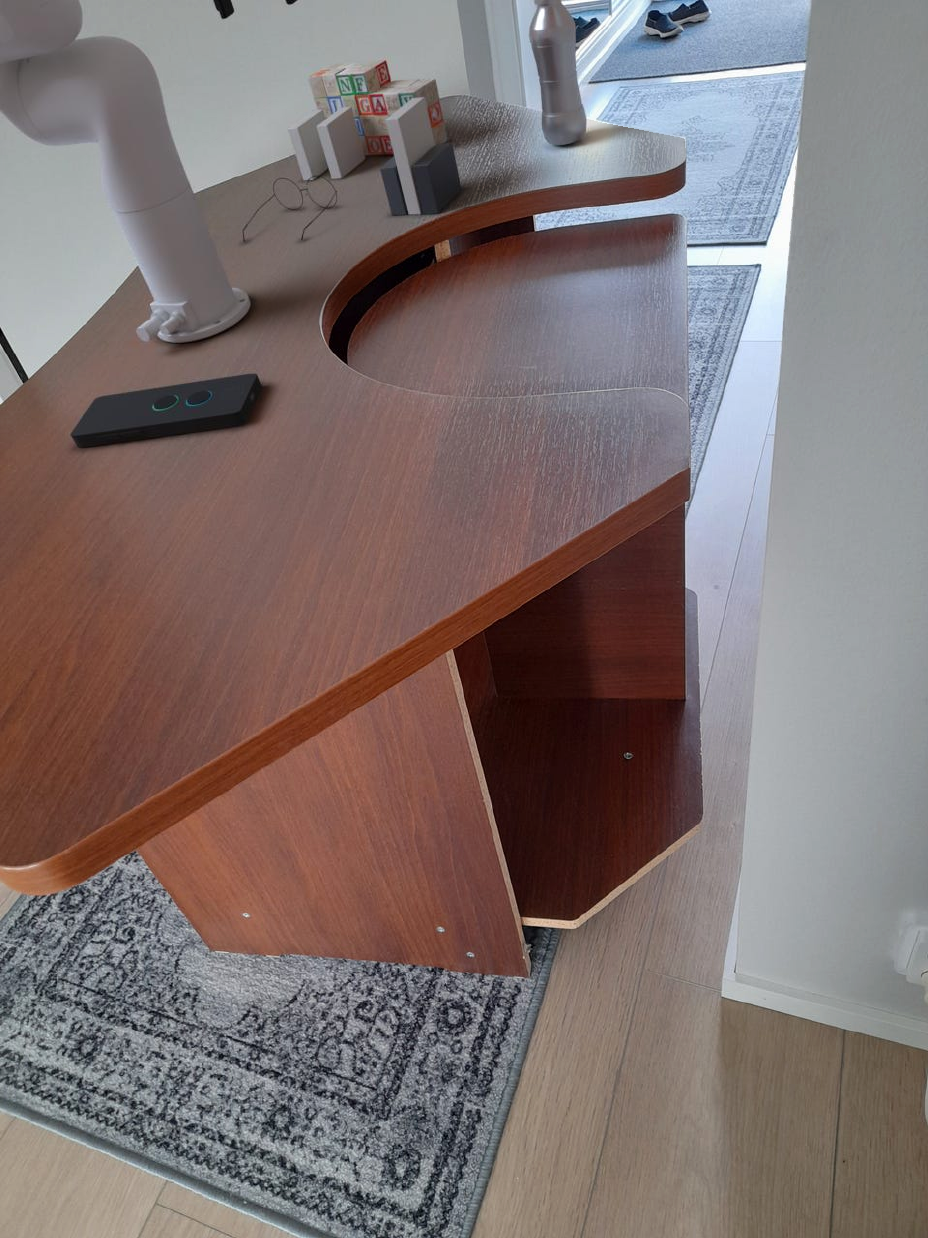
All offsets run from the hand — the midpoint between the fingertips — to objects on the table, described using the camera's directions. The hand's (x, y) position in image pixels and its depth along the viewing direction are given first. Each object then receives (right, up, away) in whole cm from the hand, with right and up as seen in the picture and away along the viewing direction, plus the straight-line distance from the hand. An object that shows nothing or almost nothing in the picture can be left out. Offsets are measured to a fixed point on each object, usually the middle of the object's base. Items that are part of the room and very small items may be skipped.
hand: (260, 8), depth 120 cm
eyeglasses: (+2, -22, +15) cm, 27 cm away
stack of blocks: (+14, -2, +31) cm, 35 cm away
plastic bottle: (+42, -10, +15) cm, 46 cm away
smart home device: (-5, -59, -20) cm, 63 cm away
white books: (+6, -7, +29) cm, 30 cm away
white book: (+22, -21, +10) cm, 32 cm away
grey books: (+22, -21, +10) cm, 32 cm away
